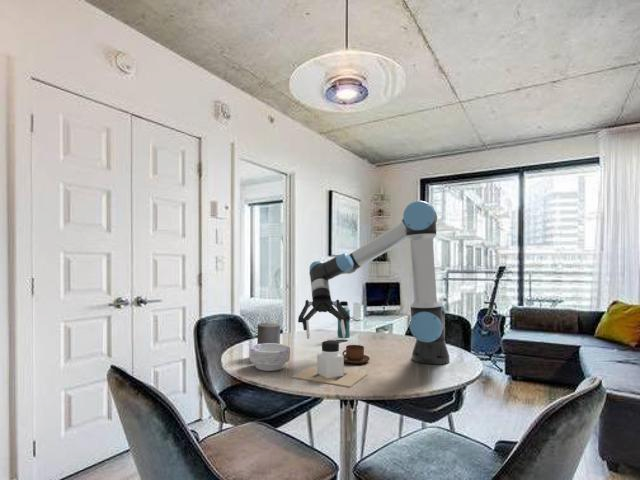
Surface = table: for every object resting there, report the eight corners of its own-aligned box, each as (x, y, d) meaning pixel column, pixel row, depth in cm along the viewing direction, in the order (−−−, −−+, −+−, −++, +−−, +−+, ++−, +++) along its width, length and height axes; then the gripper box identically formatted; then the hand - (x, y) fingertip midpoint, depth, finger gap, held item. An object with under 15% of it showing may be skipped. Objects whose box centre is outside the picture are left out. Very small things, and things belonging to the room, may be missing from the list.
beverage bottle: (349, 338, 207) (349, 300, 208) (350, 341, 201) (350, 302, 202) (336, 338, 207) (337, 300, 208) (337, 341, 201) (338, 301, 202)
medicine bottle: (344, 376, 139) (344, 341, 140) (326, 379, 135) (326, 343, 136) (333, 371, 145) (333, 338, 146) (316, 373, 142) (316, 339, 142)
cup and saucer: (359, 367, 153) (359, 351, 153) (334, 362, 160) (334, 347, 160) (375, 361, 162) (375, 346, 162) (350, 356, 169) (351, 342, 170)
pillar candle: (252, 356, 168) (253, 321, 169) (271, 353, 174) (272, 318, 175) (265, 361, 161) (266, 323, 161) (284, 357, 167) (285, 321, 168)
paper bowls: (291, 373, 144) (291, 351, 144) (248, 374, 142) (249, 351, 142) (288, 362, 159) (288, 342, 159) (250, 363, 157) (250, 343, 157)
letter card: (367, 374, 142) (367, 373, 142) (350, 387, 128) (350, 386, 128) (313, 366, 152) (313, 365, 152) (292, 377, 138) (292, 376, 138)
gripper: (349, 298, 167) (357, 341, 152) (290, 298, 164) (292, 342, 148) (351, 286, 162) (360, 329, 147) (291, 286, 159) (293, 331, 143)
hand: (326, 336), depth 147 cm, fingers open, 13 cm apart
